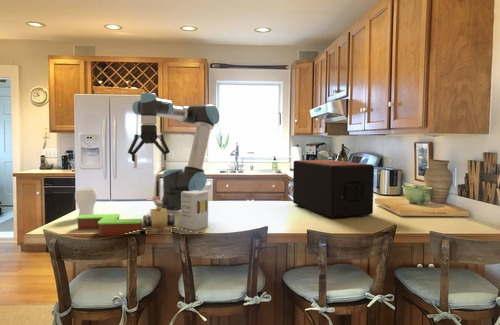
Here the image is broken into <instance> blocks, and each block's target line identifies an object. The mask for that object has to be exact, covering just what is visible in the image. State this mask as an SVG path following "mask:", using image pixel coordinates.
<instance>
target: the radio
mask: <svg viewBox="0 0 500 325" xmlns="http://www.w3.org/2000/svg"><path fill="white" fill-rule="evenodd" d="M292 168H293V170H292V171H293V175H292V176H293V177H292V178H293V179H292V180H293V181H292V183H293V184H292V187H293V188H292V190H293V192H292V203H293V204H294V205H297V207H302V208H305V209H308V210H311V211H312V212H316V213H317V214H320V215H323V216H326V217H329V218H330V219H331V220H336V219H337V218H344V217H354V216H355V217H356V216H360V217H367V215H368V216H369V215H370V216H371V215H372V214H373V212H374V188H375V187H374V182H375V178H374V177H375V175H374V174H375V165H373V164H371V163H359V162H354V161H353V162H351V161H345V160H344V161H342V160H332V159H317V160H316V159H313V160H312V159H311V160H309V159H308V160H307V159H306V160H294V161H293V167H292Z"/></svg>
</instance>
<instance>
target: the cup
mask: <svg viewBox="0 0 500 325" xmlns="http://www.w3.org/2000/svg"><path fill="white" fill-rule="evenodd" d="M97 198H98V192H97V188H95V187H81V188H76V189H75V192H74V200H75V202H76V204H77V206H78V210H79V212H78V216H80V215H95V210H94V209H95V204H96V203H97Z"/></svg>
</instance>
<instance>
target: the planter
mask: <svg viewBox="0 0 500 325" xmlns="http://www.w3.org/2000/svg"><path fill="white" fill-rule="evenodd" d="M76 219H77V230H79V231H83V230H85V231H87V230H89V231H90V230H98V235H99V236H101V237H103V236H104V237H107V236H109V237H111V236H122V235H121V234H125V233H129V232H133V231H137V230H141V229H143V226H142V221H143V218H122V219H120V214H118V213H105V214H99V213H98V214H94V215H80V216H79V215H78V216H77V217H76Z"/></svg>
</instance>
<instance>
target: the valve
mask: <svg viewBox="0 0 500 325" xmlns="http://www.w3.org/2000/svg"><path fill="white" fill-rule="evenodd" d="M155 206H156V208H150V211H149V212H150V215H145V214H144V215H143V216H142V221H143V226H145V227H146V226H152V227H156V226H167V224H169V225H171V224H176V223H175V222H176V220H175V219H176V216H175V214H174V213H168V209H166V208H161V205H155ZM143 226H142V227H143Z"/></svg>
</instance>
